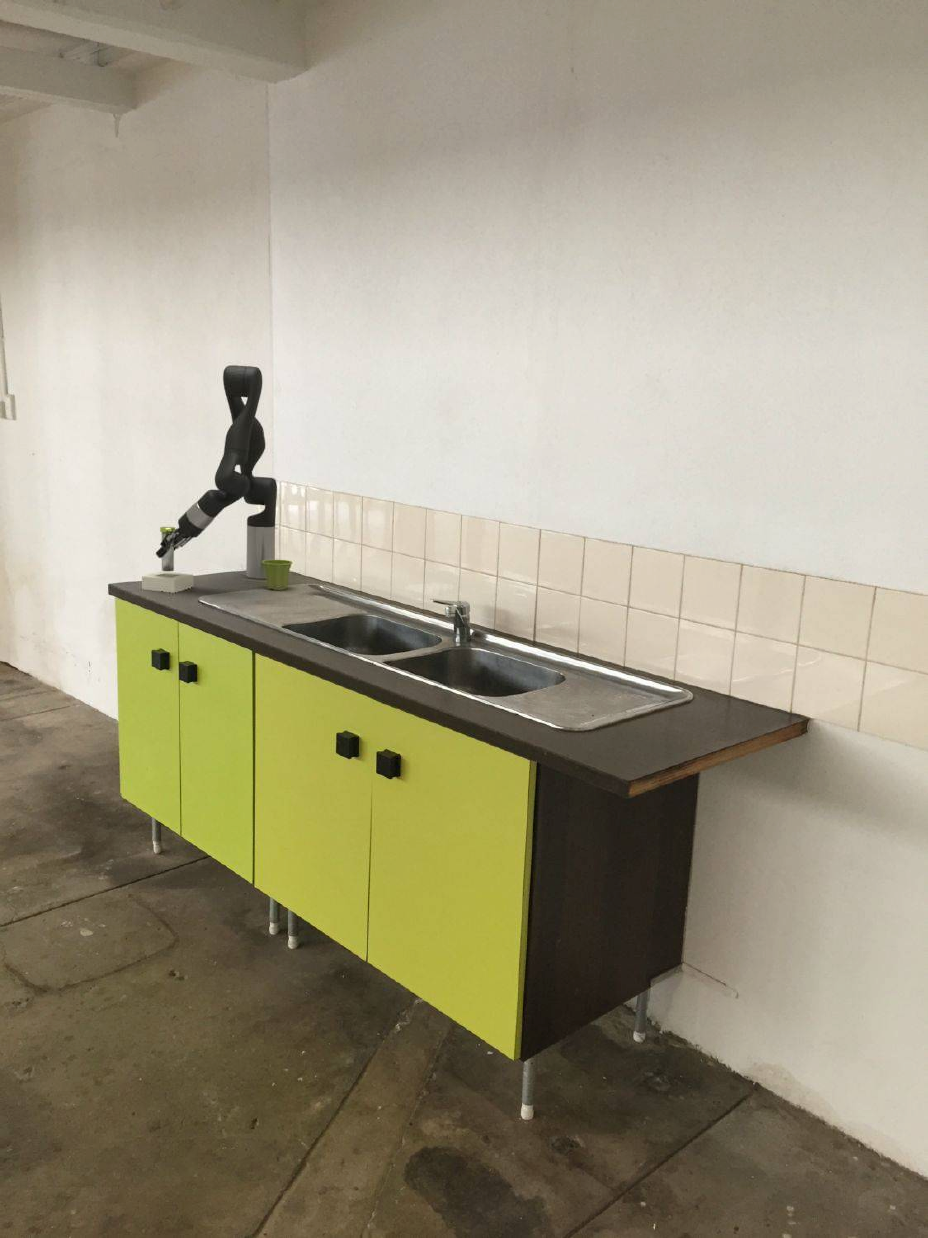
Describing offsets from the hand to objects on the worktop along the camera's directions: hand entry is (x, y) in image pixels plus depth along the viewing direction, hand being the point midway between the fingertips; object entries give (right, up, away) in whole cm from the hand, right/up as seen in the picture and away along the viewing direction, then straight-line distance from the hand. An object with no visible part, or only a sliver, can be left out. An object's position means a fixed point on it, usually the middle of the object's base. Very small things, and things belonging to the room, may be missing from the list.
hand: (162, 554), depth 319 cm
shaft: (+2, -5, 0) cm, 5 cm away
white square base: (+1, -10, +2) cm, 10 cm away
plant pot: (+33, -10, +11) cm, 36 cm away
